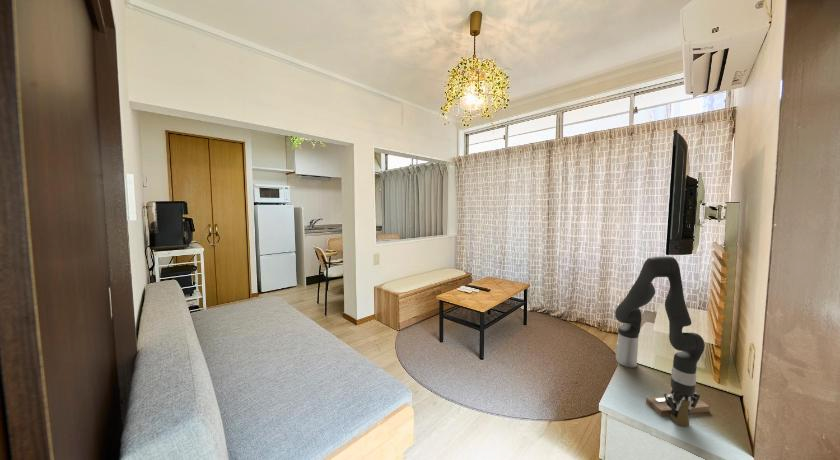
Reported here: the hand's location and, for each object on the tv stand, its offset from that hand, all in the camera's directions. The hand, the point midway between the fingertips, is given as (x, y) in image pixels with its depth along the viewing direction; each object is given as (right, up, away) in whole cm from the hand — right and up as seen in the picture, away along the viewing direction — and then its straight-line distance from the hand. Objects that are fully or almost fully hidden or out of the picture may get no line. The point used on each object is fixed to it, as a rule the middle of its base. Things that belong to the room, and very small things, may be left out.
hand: (680, 415), depth 121 cm
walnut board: (+6, -1, +8) cm, 10 cm away
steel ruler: (+4, +2, +10) cm, 11 cm away
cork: (0, -2, 0) cm, 2 cm away
